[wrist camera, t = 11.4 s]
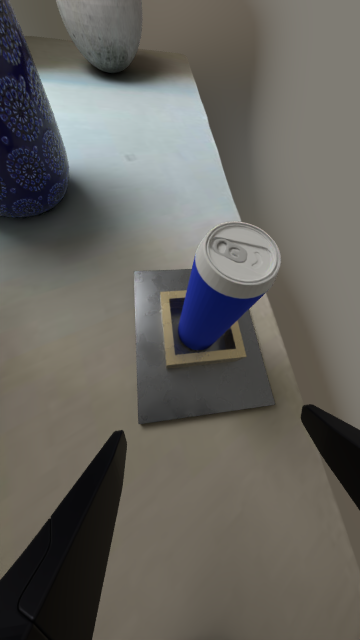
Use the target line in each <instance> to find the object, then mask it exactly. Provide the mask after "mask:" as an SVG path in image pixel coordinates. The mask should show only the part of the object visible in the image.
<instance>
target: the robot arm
mask: <svg viewBox="0 0 360 640" xmlns="http://www.w3.org/2000/svg"><path fill="white" fill-rule="evenodd" d="M301 421H302V423H303V425H304V427H305V428H306V430H307V432H308V433H309V435H310V437H311V439H312V440H313V442H314V444H315V445H316V447H317V449H318V450H319V452H320V454H321V455H322V457H323V458H324V459H325V461H326V463H327V464H328V466H329V467H330V468H331V470H332V471H333V473H334V474H335V476H336V477H337V478H338V480H339V481H340V483H341V484H342V485H343V487H344V489H345V490H346V491H347V493H348V494H349V496H350V497H351V499H352V500H353V501H354V503H355V504H356V506H357V507H358V509H359V510H360V430H359V429H357V428H355V427H353V426H351V425H350V424H348V423H346V422H344V421H342V420H340V419H338V418H336V417H335V416H333V415H331V414H329V413H327V412H325V411H324V410H322V409H320V408H318V407H316V406H314V405H311V404H309V405H304V406H303V407H302V413H301ZM126 450H127V441H126V438H125V434H124V431H123V430H119V431H115V432H113V434H112V435H111V436H110V438H109V439H108V440H107V442H106V443H105V444H104V446H103V447H102V448H101V450H100V451H99V452H98V454H97V455H96V456H95V458H94V459H93V460H92V462H91V463H90V464H89V466H88V467H87V469H86V470H85V471H84V473H83V474H82V475H81V477H80V478H79V479H78V481H77V482H76V483H75V485H74V486H73V487H72V489H71V490H70V491H69V493H68V494H67V495H66V497H65V498H64V499H63V501H62V502H61V503H60V505H59V506H58V507H57V509H56V510H55V511H54V513H53V514H52V515H51V519H48V521H47V522H46V523H45V525H44V526H43V527H42V529H41V530H40V531H39V532H38V534H37V535H36V536H35V538H34V539H33V540H32V542H31V543H30V544H29V545H28V547H27V548H26V549H25V551H24V552H23V553H22V554H21V556H20V557H19V558H18V559H17V560H16V562H15V563H14V564H13V565H12V567H11V568H10V569H9V570H8V571H7V573H6V574H5V575H4V576H3V578H2V579H1V580H0V640H92V637H93V632H94V627H95V622H96V617H97V612H98V607H99V602H100V597H101V592H102V587H103V582H104V577H105V572H106V567H107V562H108V557H109V552H110V547H111V542H112V537H113V532H114V527H115V522H116V517H117V512H118V507H119V502H120V497H121V492H122V486H123V478H124V469H125V460H126Z"/></svg>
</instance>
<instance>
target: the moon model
mask: <svg viewBox="0 0 360 640" xmlns="http://www.w3.org/2000/svg"><path fill="white" fill-rule="evenodd" d="M56 2H57V6H58V9H59V12H60V14H61V17H62V20H63V23H64V25H65V27H66V29H67V31H68V33H69V35H70V37H71V39H72V40H73V42H74V44H75V45H76V47H77V48H78V50H79V51H80V52H81V53H82V55H83V56H84V57H85V58H86V59H87V60H88V61H89V62H90V63H91V64H92V65H94V66H95V67H97V68H98V69H100V70H102V71H105V72H108V73H116V72H120V71H122V70H124V69H125V68H126V67H127V66H128V65H129V64H130V63H131V62H132V60H133V59H134V57H135V55H136V53H137V50H138V46H139V43H140V38H141V31H142V2H141V0H56Z"/></svg>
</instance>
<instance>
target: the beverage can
mask: <svg viewBox="0 0 360 640" xmlns="http://www.w3.org/2000/svg"><path fill="white" fill-rule="evenodd" d="M280 265H281V256H280V252H279V249H278V247H277V245H276V243H275V242H274V241H273V239H272V238H271V237H270V236H269V235H268V234H267V233H266V232H264V231H263V230H261V229H260V228H258V227H256V226H254V225H251V224H248V223H244V222H226V223H222V224H219V225H217V226H216V227H214V228H213V229H211V230H210V231H209V232H208V234H207V235H206V236H205V237H204V239H203V240H202V241H201V243H200V244H199V246H198V248H197V250H196V254H195V258H194V262H193V266H192V271H191V275H190V279H189V283H188V288H187V292H186V296H185V300H184V304H183V309H182V313H181V317H180V321H179V326H178V334H179V337H180V339H181V341H182V342H183V344H184V345H186V346H187V347H189V348H191V349H194V350H204V349H207V348H209V347H210V346H211V345H213V344H214V343H215V342H216V341H217V340H218V339H219V338H220V337H221V336H222V335H223V334H224V333H225V332H226V331H227V330H228V329H229V328H230V327H231V326H232V325H233V324H234V323H235V322H236V321H237V320H238V319H239V318H240V317H241V316H242V315H243V314H244V313H245V312H246V311H247V310H248V309H249V308H251V307H252V306H253V305H254V304H255V303H256V302H257V301H258V300H259V299H260V298H261V297H262V296H263V295H264V294H265V293H266V292H267V291H268V290H269V289H270V288H271V286H272V285H273V283H274V281H275V279H276V276H277V274H278V271H279V268H280Z"/></svg>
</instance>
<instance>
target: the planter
mask: <svg viewBox="0 0 360 640" xmlns="http://www.w3.org/2000/svg"><path fill="white" fill-rule="evenodd" d="M68 181H69V163H68V159H67V154H66V150H65V147H64V144H63V141H62V138H61V135H60V132H59V129H58V126H57V123H56V120H55V117H54V114H53V111H52V109H51V106H50V103H49V101H48V98H47V95H46V93H45V90H44V87H43V85H42V82H41V79H40V77H39V74H38V71H37V69H36V66H35V63H34V61H33V58H32V55H31V53H30V50H29V48H28V45H27V43H26V40H25V38H24V35H23V33H22V30H21V28H20V25H19V22H18V20H17V17H16V15H15V12H14V10H13V7H12V5H11V2H10V0H0V216H6V217H15V218H21V217H30V216H35V215H38V214H41V213H44V212H46V211H48V210H50V209H52V208H53V207H55V206H56V205H57V204H58V203H59V202H60V201H61V199H62V198H63V196H64V195H65V193H66V190H67V186H68Z"/></svg>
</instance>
